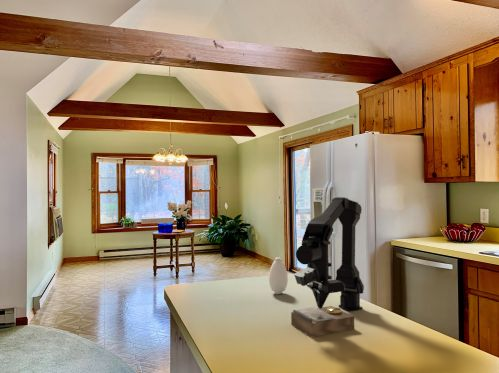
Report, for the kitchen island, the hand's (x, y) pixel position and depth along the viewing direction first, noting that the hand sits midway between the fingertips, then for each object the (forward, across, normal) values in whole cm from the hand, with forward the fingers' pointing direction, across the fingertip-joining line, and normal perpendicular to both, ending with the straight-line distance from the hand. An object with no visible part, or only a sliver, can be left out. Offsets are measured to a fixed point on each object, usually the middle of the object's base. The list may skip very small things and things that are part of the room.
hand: (320, 308), depth 122 cm
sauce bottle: (+6, -41, +7) cm, 42 cm away
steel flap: (+2, 0, -2) cm, 3 cm away
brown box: (+6, 0, +1) cm, 6 cm away
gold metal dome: (+6, 0, +5) cm, 8 cm away
